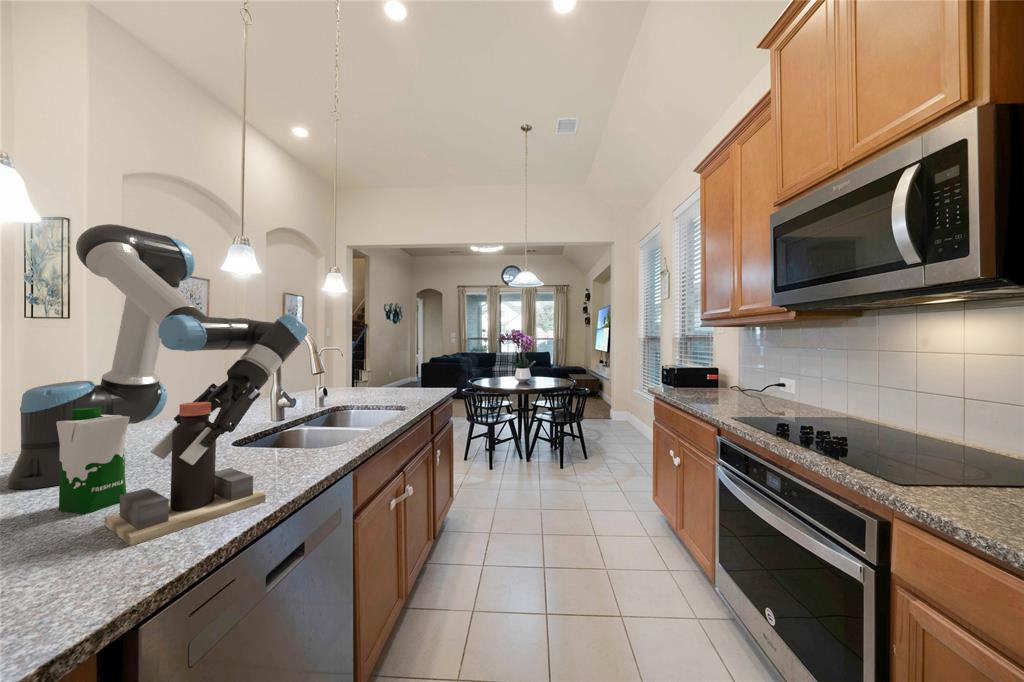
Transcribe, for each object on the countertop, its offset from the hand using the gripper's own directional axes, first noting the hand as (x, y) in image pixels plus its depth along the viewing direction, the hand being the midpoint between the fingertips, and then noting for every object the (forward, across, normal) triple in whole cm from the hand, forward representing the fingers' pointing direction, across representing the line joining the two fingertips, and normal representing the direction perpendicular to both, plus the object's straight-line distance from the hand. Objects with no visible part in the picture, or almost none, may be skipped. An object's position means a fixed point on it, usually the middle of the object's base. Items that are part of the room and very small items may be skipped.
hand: (171, 458), depth 74 cm
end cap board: (+6, 0, -11) cm, 12 cm away
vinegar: (+5, 0, -10) cm, 11 cm away
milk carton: (+10, +22, -7) cm, 25 cm away
